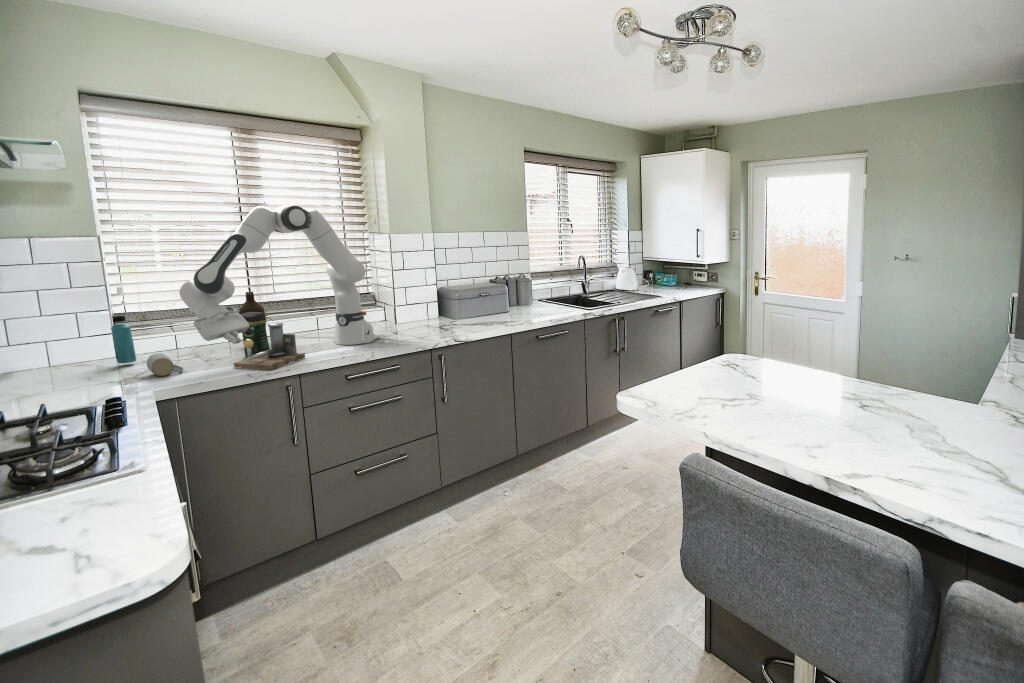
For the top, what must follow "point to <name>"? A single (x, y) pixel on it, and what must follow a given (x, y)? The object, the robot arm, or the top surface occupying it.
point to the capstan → (276, 343)
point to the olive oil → (250, 305)
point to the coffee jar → (256, 332)
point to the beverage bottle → (123, 341)
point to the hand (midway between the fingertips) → (237, 342)
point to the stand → (274, 362)
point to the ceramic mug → (162, 365)
